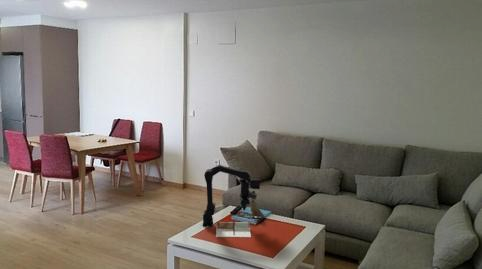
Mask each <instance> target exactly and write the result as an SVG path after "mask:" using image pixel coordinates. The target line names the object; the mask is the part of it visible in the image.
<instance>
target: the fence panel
mask: <svg viewBox="0 0 482 269" xmlns="http://www.w3.org/2000/svg"><path fill="white" fill-rule="evenodd" d="M234 222H235V228H242V229H249V227H250V223H251V222H250V221H247V222H246V221H245V222H243V221H242V222H241V221H240V222H239V221H234Z"/></svg>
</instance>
